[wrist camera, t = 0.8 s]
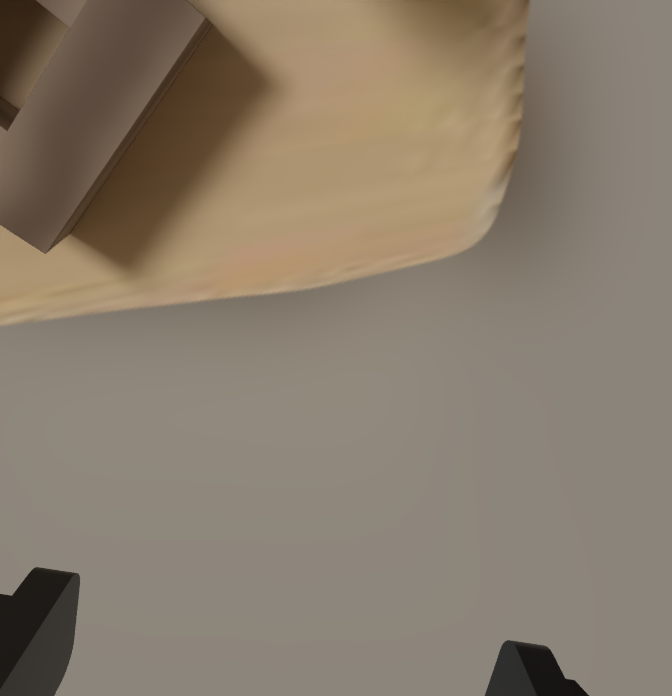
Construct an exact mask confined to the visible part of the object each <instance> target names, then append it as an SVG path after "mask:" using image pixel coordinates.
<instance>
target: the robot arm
mask: <svg viewBox="0 0 672 696" xmlns="http://www.w3.org/2000/svg"><path fill="white" fill-rule="evenodd" d="M79 586H80V576H79V574H77V573H72V572H65V571H58V570H52V569H45V568H39V567H36V568H34V569H33V570H32V571H31V572H30V573H29V574H28V576H27V577H26V578H25V580H24V581H23V582H22V583H21V585H20V586H19V587H18V589H17V590H16V591H15V593H14V594H13V595H12V596H10V595H3V594H0V696H54V695H55V693H56V691H57V689H58V687H59V685H60V683H61V681H62V679H63V677H64V674H65V672H66V669H67V666H68V664H69V660H70V657H71V653H72V649H73V644H74V635H75V624H76V615H77V606H78V597H79V596H78V595H79ZM485 696H589V695H588V694H587V693H586V692H585V691H584V690H583V689H582V688H581V687H580V686H579V684H578V683H577V682H576V681H575V680H569V679H565V677H564V675H563V673H562V671H561V669H560V667H559V666H558V664H557V661H556V659H555V657H554V655H553V654H552V652H551V650H550V649H549V648H548V647H546V646H542V645H537V644H530V643H523V642H517V641H510V640H509V641H508V640H507V641H506V642H504V643H503V645H502V647H501V649H500V652H499V655H498V658H497V661H496V665H495V667H494V670H493V673H492V676H491V679H490V682H489V685H488V688H487V691H486V694H485Z"/></svg>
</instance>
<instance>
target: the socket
mask: <svg viewBox="0 0 672 696" xmlns="http://www.w3.org/2000/svg"><path fill="white" fill-rule="evenodd" d="M36 1H37V2H39V3H40V4H41V5H42V6H44V7H45V8H46V9H47V10H49V11H50V12H51V13H52V14H53V15H55V16H56V17H57V18H58V19H60V20H61V21H62V22H63V23H64V24H66V25H67V26H68V27H69V28H70V29H69V31H68V32H67V34H66V36H65V37H64V39H63V41H62V42H61V44H60V45H59V47H58V49H57V50H56V52H55V54H54V55H53V57H52V59H51V60H50V62H49V64H48V65H47V67H46V68H45V70H44V72H43V73H42V75H41V77H40V78H39V80H38V82H37V83H36V85H35V87H34V88H33V90H32V91H31V93H30V95H29V96H28V98H27V100H26V101H25V103H24V105H23V106H22V108H21V110H20V111H19V110H18V109H16V108H15V107H14V106H12V105H11V104H10V103H8V102H7V101H6V100H4V99H3V98H2V97H0V225H1V226H3V227H5V228H6V229H8V230H9V231H11V232H12V233H14V234H15V235H17V236H18V237H20V238H21V239H23V240H24V241H26V242H28V243H29V244H31V245H32V246H34V247H35V248H37V249H38V250H40V251H41V252H43V253H44V254H46V253H47V252H48V251H49V250H51V249H52V248H53V247H54V246H56V245H57V244H58V243H59V242H60V241H62V240H63V239H64V238H65V237H66V236H68V235H69V234H70V232H71V231H72V229H73V228H74V226H75V225H76V224H77V222H78V221H79V219H80V218H81V216H82V215H83V213H84V212H85V210H86V209H87V207H88V206H89V205H90V203H91V202H92V200H93V199H94V197H95V196H96V194H97V193H98V191H99V190H100V188H101V187H102V186H103V184H104V183H105V181H106V180H107V178H108V177H109V175H110V174H111V172H112V171H113V169H114V168H115V167H116V165H117V164H118V162H119V161H120V159H121V158H122V156H123V155H124V153H125V152H126V150H127V149H128V148H129V146H130V145H131V143H132V142H133V140H134V139H135V137H136V136H137V134H138V133H139V131H140V130H141V128H142V127H143V126H144V124H145V123H146V121H147V120H148V118H149V117H150V115H151V114H152V112H153V111H154V109H155V108H156V107H157V105H158V104H159V102H160V101H161V99H162V98H163V96H164V95H165V93H166V92H167V90H168V89H169V88H170V86H171V85H172V83H173V82H174V80H175V79H176V77H177V76H178V74H179V73H180V71H181V70H182V69H183V67H184V66H185V64H186V63H187V61H188V60H189V58H190V57H191V55H192V54H193V52H194V51H195V50H196V48H197V47H198V45H199V44H200V42H201V41H202V39H203V38H204V36H205V35H206V33H207V32H208V31H209V29H210V28H211V26H212V25H213V24H212V23H211V22H210V21H209V20H208V19H206V18H205V17H204V16H203V15H202V14H201V13H200V12H199V11H198V10H197V9H195V8H194V7H193V6H192V5H191V4H190V3H189V2H188V1H187V0H36Z"/></svg>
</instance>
